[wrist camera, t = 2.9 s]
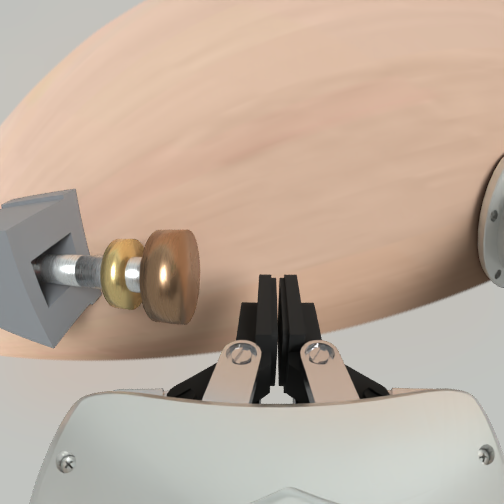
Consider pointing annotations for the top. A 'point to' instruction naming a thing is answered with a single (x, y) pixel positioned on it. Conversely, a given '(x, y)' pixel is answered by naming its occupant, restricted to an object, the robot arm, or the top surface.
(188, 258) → the shaft
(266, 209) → the top surface
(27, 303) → the housing
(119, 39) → the top surface
